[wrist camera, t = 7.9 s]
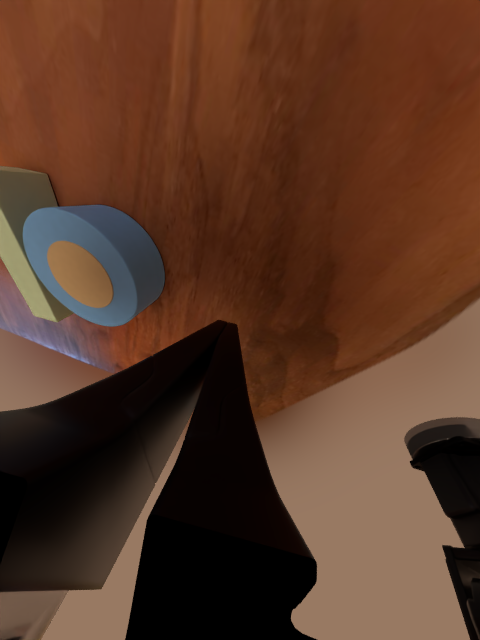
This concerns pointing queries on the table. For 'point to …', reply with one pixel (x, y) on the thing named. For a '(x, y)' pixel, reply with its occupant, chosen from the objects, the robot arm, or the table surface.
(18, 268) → the stop block
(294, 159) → the table surface
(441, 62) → the table surface
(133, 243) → the tape roll
